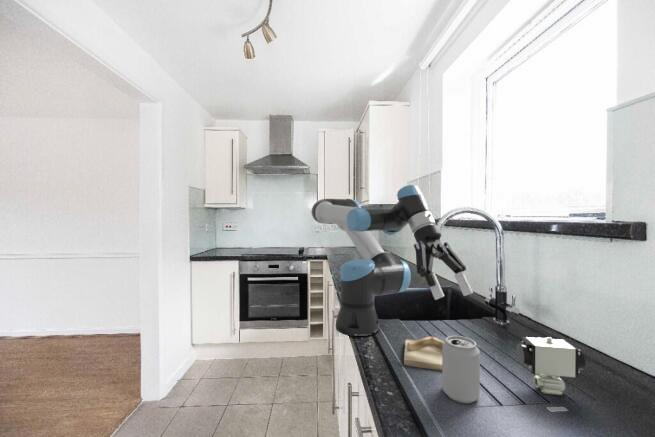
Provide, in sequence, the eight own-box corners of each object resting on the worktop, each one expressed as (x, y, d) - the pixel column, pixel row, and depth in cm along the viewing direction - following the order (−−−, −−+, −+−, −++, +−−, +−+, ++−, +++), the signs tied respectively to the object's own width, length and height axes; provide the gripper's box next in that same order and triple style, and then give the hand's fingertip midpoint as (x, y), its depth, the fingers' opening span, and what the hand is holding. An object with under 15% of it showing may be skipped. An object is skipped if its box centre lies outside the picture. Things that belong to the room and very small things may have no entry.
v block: (405, 344, 89) (405, 332, 89) (459, 350, 85) (459, 338, 84) (404, 365, 76) (404, 351, 76) (466, 374, 72) (466, 360, 72)
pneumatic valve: (586, 400, 62) (586, 344, 62) (524, 393, 64) (525, 339, 64) (570, 385, 67) (570, 333, 67) (514, 379, 70) (514, 330, 69)
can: (448, 380, 69) (448, 330, 69) (483, 393, 64) (483, 339, 64) (437, 396, 63) (437, 341, 63) (475, 410, 59) (475, 351, 58)
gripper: (406, 220, 81) (437, 294, 71) (457, 225, 95) (490, 288, 85) (388, 233, 86) (415, 304, 76) (439, 236, 100) (468, 296, 90)
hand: (454, 296), depth 81 cm, fingers open, 13 cm apart
